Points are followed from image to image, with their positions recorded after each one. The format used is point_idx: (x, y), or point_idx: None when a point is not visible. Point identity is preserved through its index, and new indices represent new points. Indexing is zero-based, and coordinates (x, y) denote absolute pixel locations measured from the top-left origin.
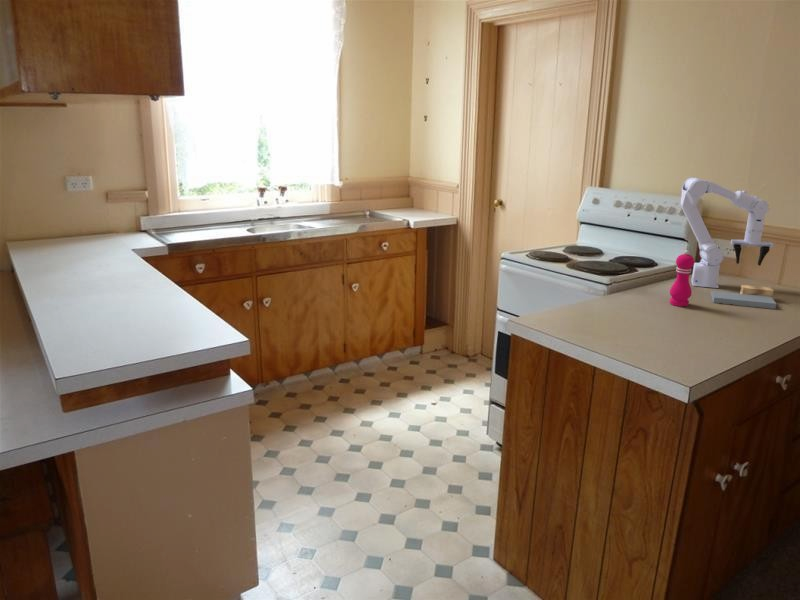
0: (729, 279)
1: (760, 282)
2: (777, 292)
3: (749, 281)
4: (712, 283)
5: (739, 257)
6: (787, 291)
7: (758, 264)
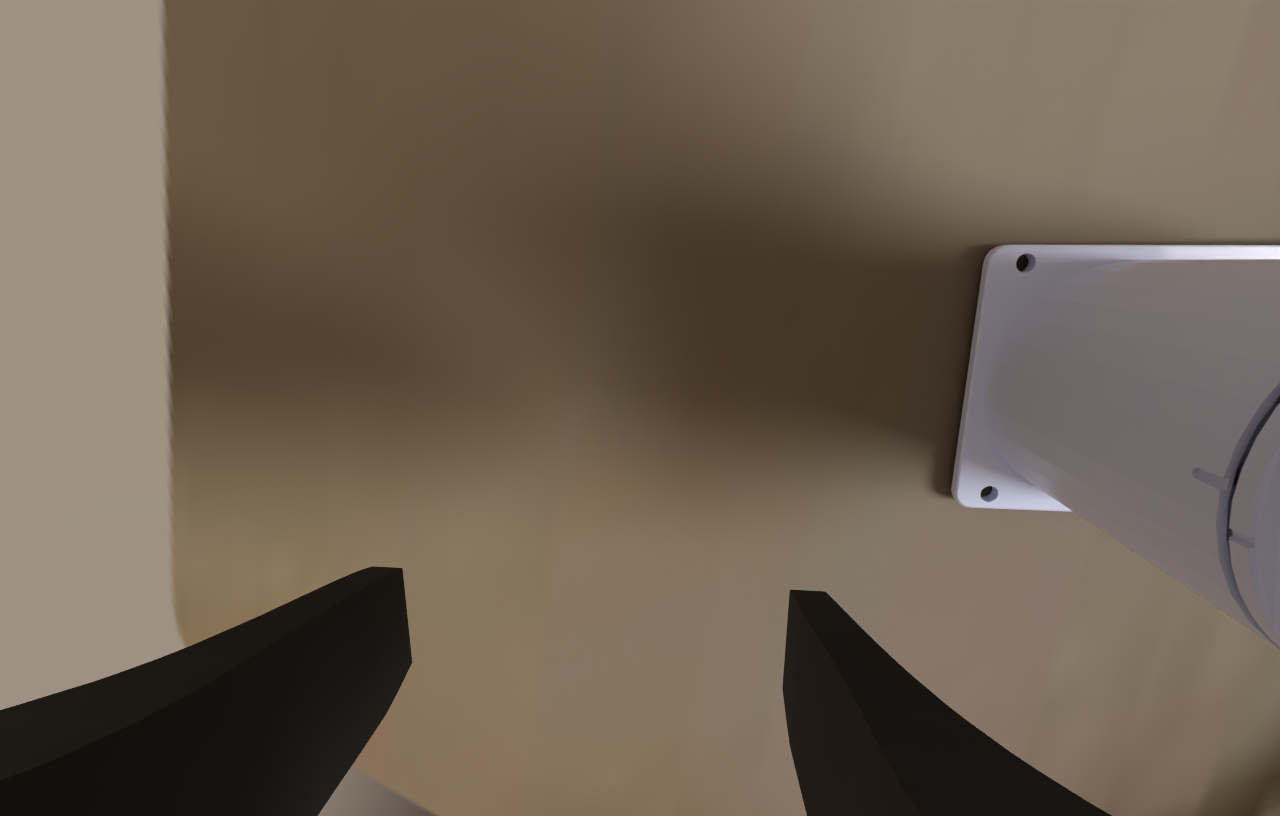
0: (745, 746)
1: (451, 714)
2: (315, 335)
3: (552, 723)
4: (1099, 275)
5: (838, 668)
6: (222, 425)
7: (397, 595)
